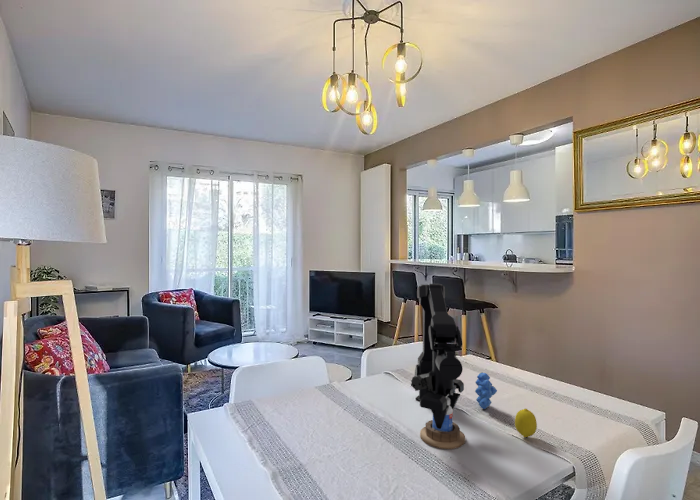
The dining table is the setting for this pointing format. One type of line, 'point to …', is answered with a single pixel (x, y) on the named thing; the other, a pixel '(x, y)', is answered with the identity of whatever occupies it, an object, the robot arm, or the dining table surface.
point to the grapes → (484, 390)
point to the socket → (442, 437)
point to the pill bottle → (445, 420)
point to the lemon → (525, 422)
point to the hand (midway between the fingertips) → (442, 424)
